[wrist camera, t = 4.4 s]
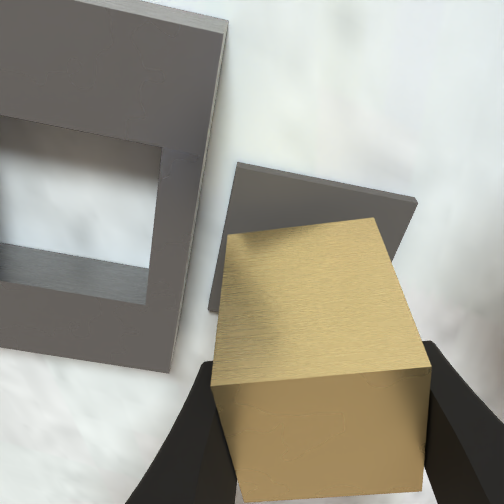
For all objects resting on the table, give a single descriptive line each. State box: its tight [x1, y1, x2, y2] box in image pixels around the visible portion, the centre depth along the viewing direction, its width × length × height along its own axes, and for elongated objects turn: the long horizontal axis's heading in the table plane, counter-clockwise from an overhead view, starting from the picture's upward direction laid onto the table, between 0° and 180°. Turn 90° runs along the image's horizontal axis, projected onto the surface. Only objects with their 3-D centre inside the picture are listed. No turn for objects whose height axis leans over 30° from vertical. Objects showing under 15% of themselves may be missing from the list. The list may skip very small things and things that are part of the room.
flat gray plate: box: [208, 162, 418, 312], centre depth 17 cm, size 6×6×1 cm
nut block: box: [211, 217, 432, 503], centre depth 14 cm, size 4×4×6 cm
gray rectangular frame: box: [0, 0, 228, 373], centre depth 15 cm, size 8×12×2 cm, turn 168°
